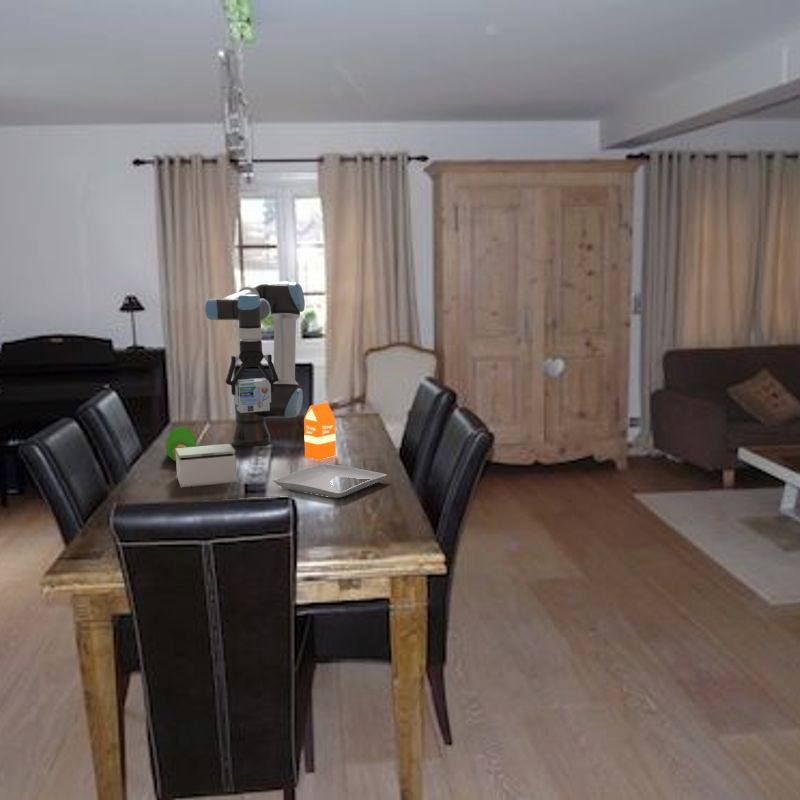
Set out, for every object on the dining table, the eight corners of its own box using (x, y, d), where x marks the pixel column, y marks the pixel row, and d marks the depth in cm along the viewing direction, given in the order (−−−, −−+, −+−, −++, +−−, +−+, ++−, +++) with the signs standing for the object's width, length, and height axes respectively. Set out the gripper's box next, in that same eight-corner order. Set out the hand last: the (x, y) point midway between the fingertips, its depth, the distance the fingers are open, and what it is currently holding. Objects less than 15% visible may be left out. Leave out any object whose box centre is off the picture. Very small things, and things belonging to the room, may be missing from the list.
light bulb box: (240, 413, 278) (238, 382, 276) (236, 410, 284) (234, 379, 282) (270, 410, 282) (269, 380, 280) (266, 407, 288) (264, 377, 286)
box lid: (229, 446, 281) (228, 443, 281) (235, 453, 268) (235, 450, 268) (175, 450, 275) (175, 448, 275) (179, 458, 262) (179, 455, 261)
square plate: (340, 504, 246) (339, 492, 245) (271, 491, 260) (270, 479, 260) (388, 483, 268) (388, 472, 268) (322, 472, 283) (322, 461, 282)
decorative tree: (171, 433, 288) (172, 414, 316) (160, 462, 289) (161, 441, 317) (202, 443, 291) (200, 423, 320) (191, 472, 292) (190, 450, 321)
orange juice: (336, 456, 304) (335, 403, 301) (318, 460, 298) (317, 406, 294) (322, 452, 309) (321, 401, 306) (304, 456, 303) (303, 404, 300)
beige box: (230, 471, 282) (229, 446, 281) (236, 482, 270) (235, 455, 268) (176, 476, 276) (175, 451, 275) (180, 487, 263) (179, 460, 262)
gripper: (281, 337, 286) (283, 398, 290) (214, 340, 278) (218, 403, 282) (286, 339, 279) (288, 402, 283) (217, 342, 271) (221, 407, 275)
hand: (253, 402), depth 283 cm, fingers closed on light bulb box, 11 cm apart
